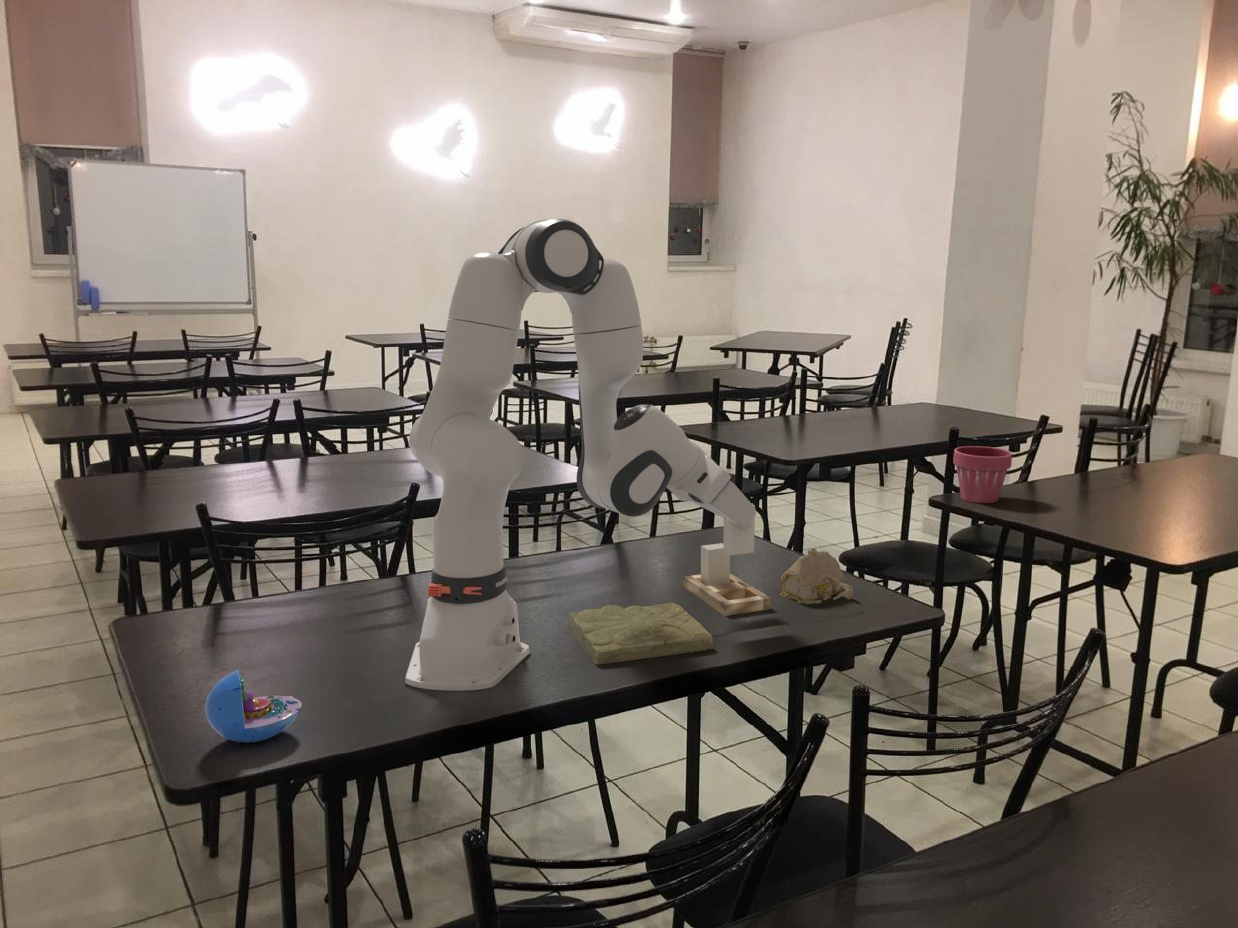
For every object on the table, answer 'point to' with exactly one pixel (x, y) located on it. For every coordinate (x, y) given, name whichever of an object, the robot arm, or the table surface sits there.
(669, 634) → the decorative tile
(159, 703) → the table surface
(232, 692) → the cell model
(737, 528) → the white rectangular block
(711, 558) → the white upright prism
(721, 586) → the rack
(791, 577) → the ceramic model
